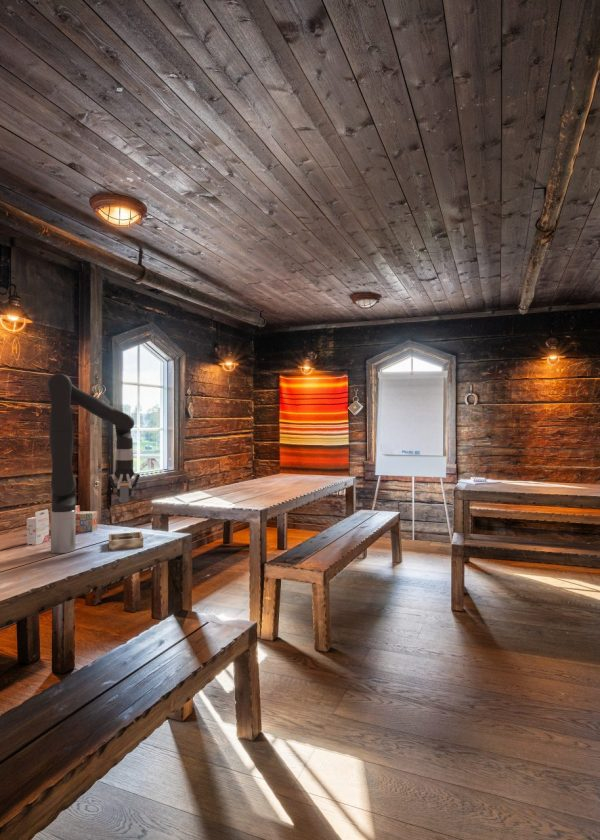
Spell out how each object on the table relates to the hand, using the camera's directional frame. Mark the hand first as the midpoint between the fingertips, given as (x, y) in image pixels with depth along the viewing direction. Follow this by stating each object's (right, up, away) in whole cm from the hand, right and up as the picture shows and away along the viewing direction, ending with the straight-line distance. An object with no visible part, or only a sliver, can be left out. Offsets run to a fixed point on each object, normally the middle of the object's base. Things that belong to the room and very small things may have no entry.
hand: (124, 496), depth 221 cm
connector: (0, -2, 0) cm, 2 cm away
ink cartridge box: (-39, -21, 0) cm, 45 cm away
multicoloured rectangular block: (-34, -21, +25) cm, 48 cm away
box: (+2, -21, -4) cm, 22 cm away
